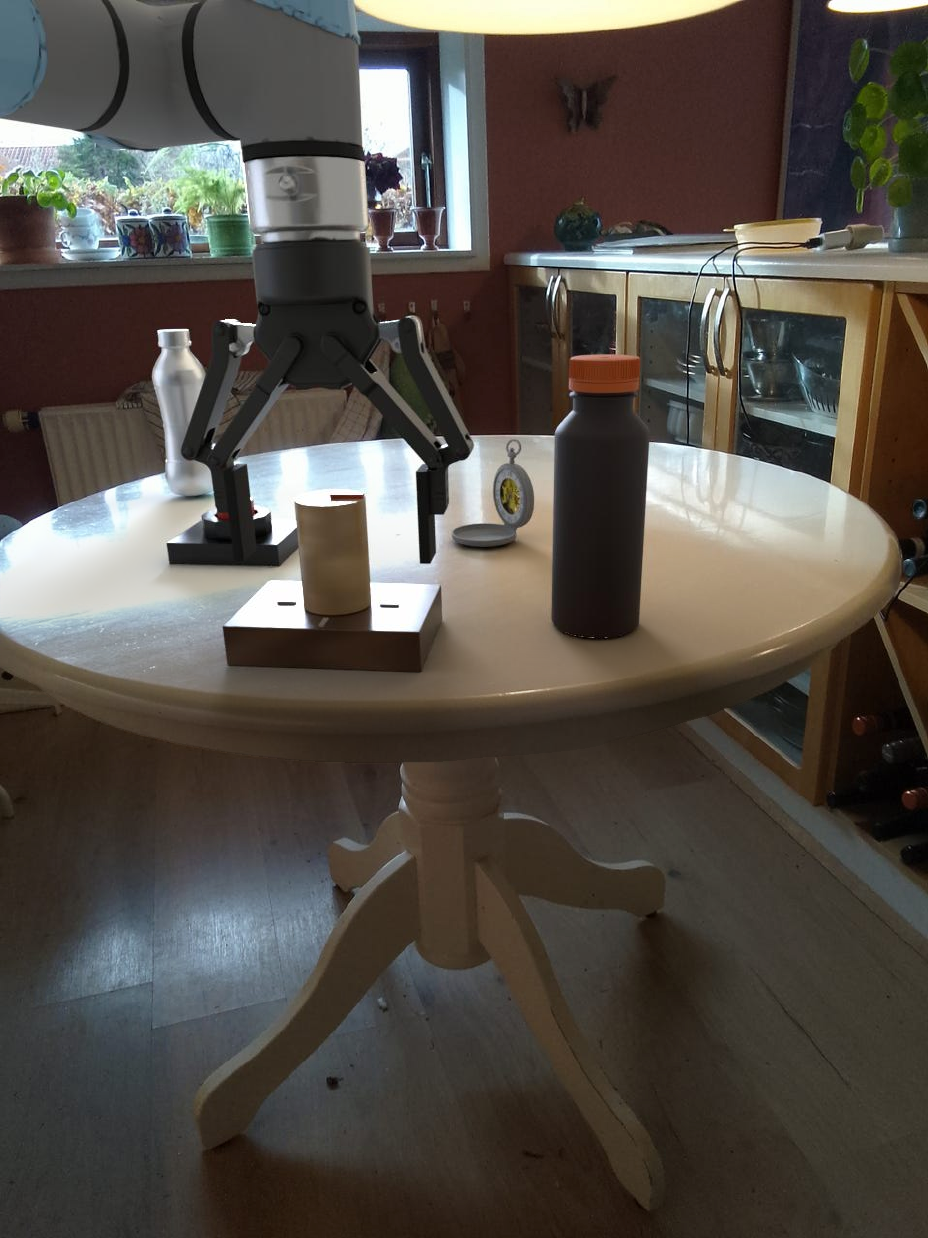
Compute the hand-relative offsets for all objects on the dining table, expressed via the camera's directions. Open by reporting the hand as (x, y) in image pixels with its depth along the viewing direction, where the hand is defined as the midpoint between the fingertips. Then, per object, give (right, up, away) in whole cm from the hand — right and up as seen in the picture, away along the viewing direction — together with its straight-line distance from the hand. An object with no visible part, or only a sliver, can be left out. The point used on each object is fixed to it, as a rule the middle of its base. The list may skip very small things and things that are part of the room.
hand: (335, 557), depth 65 cm
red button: (-13, +6, +23) cm, 27 cm away
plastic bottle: (-25, +11, +49) cm, 56 cm away
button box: (-13, +2, +25) cm, 28 cm away
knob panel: (0, -6, +2) cm, 7 cm away
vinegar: (+20, -5, +5) cm, 21 cm away
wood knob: (0, -3, +1) cm, 4 cm away
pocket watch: (+12, +4, +27) cm, 30 cm away
